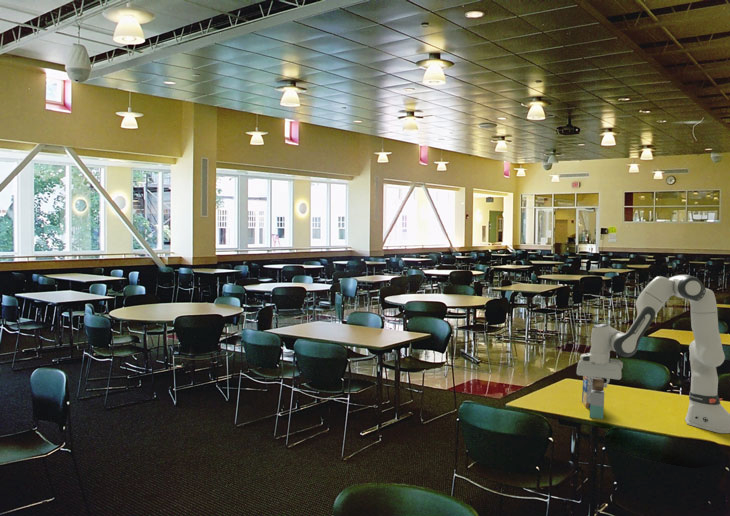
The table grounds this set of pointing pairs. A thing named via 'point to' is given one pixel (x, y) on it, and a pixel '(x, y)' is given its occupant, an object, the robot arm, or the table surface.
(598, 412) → the tower base
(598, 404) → the tower top
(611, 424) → the table surface
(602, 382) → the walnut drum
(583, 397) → the beverage box
